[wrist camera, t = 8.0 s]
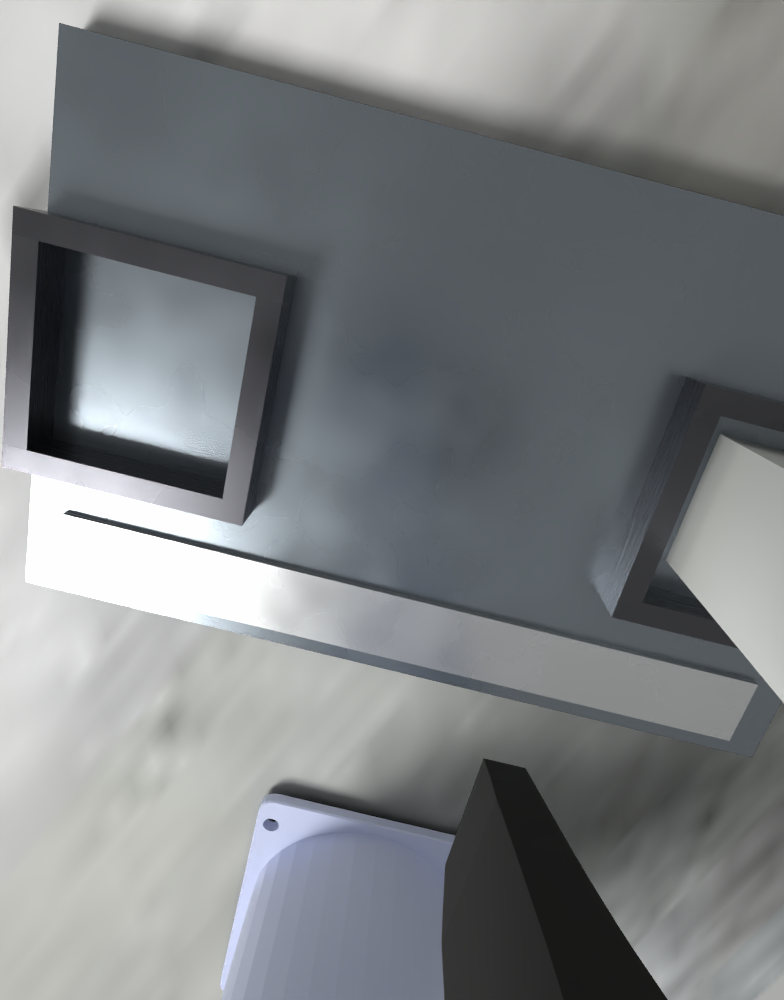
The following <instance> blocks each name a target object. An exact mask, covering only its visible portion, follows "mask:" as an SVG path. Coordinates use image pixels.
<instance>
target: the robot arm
mask: <svg viewBox="0 0 784 1000" xmlns="http://www.w3.org/2000/svg"><path fill="white" fill-rule="evenodd" d="M268 819H274V820H276V821H277V822H272V821H270V820H268ZM220 987H221V988H222V990H223V995H222V998H221V1000H667V998H666V997H665V995H664V994H663V992H662V991H661V989H660V988H659V986H658V985H657V983H656V982H655V981H654V979H653V978H652V976H651V975H650V973H649V972H648V970H647V969H646V967H645V966H644V964H643V963H642V961H641V960H640V958H639V957H638V956H637V954H636V953H635V951H634V950H633V948H632V947H631V945H630V944H629V942H628V940H627V939H626V937H625V936H624V934H623V933H622V931H621V930H620V928H619V927H618V925H617V923H616V922H615V920H614V919H613V917H612V915H611V914H610V912H609V910H608V909H607V907H606V906H605V904H604V902H603V901H602V899H601V897H600V896H599V894H598V893H597V891H596V889H595V888H594V886H593V884H592V883H591V881H590V880H589V878H588V876H587V875H586V873H585V871H584V870H583V868H582V866H581V864H580V863H579V861H578V859H577V858H576V856H575V854H574V853H573V851H572V849H571V847H570V846H569V844H568V842H567V840H566V839H565V837H564V835H563V833H562V832H561V830H560V828H559V826H558V825H557V823H556V821H555V819H554V818H553V816H552V814H551V812H550V811H549V809H548V807H547V805H546V804H545V802H544V800H543V798H542V796H541V795H540V793H539V791H538V789H537V788H536V786H535V784H534V783H533V781H532V779H531V777H530V776H529V774H528V772H527V770H526V769H525V768H522V767H517V766H513V765H509V764H505V763H501V762H496V761H492V760H488V759H483V761H482V764H481V767H480V770H479V773H478V775H477V778H476V781H475V784H474V786H473V789H472V792H471V795H470V797H469V800H468V803H467V806H466V808H465V811H464V814H463V817H462V820H461V822H460V825H459V828H458V831H457V833H456V836H455V835H451V834H447V833H442V832H438V831H434V830H430V829H425V828H421V827H417V826H413V825H408V824H404V823H400V822H396V821H391V820H387V819H383V818H379V817H374V816H370V815H366V814H362V813H357V812H353V811H349V810H345V809H340V808H336V807H332V806H328V805H323V804H319V803H315V802H311V801H306V800H302V799H298V798H294V797H289V796H285V795H281V794H269V795H267V796H265V797H264V798H263V800H262V802H261V804H260V808H259V811H258V816H257V820H256V825H255V829H254V834H253V838H252V843H251V847H250V852H249V856H248V860H247V865H246V869H245V874H244V878H243V883H242V887H241V892H240V896H239V900H238V905H237V909H236V914H235V918H234V923H233V927H232V932H231V936H230V940H229V945H228V949H227V954H226V958H225V963H224V967H223V972H222V976H221V981H220Z"/></svg>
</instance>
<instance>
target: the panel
mask: <svg viewBox="0 0 784 1000" xmlns="http://www.w3.org/2000/svg"><path fill="white" fill-rule="evenodd" d="M720 434H723V435H727V436H730V437H734V438H738V439H742V440H746V441H749V442H753V443H757V444H761V445H765V446H769V447H772V448H776V449H780V450H784V216H782V215H778V214H774V213H771V212H767V211H763V210H759V209H756V208H752V207H748V206H744V205H741V204H737V203H733V202H729V201H726V200H722V199H718V198H714V197H710V196H707V195H703V194H699V193H695V192H692V191H688V190H684V189H680V188H677V187H673V186H669V185H665V184H662V183H658V182H654V181H650V180H647V179H643V178H639V177H635V176H632V175H628V174H624V173H620V172H617V171H613V170H609V169H605V168H602V167H598V166H594V165H590V164H587V163H583V162H579V161H575V160H572V159H568V158H564V157H560V156H557V155H553V154H549V153H545V152H542V151H538V150H534V149H530V148H527V147H523V146H519V145H515V144H512V143H508V142H504V141H500V140H497V139H493V138H489V137H485V136H482V135H478V134H474V133H470V132H467V131H463V130H459V129H455V128H452V127H448V126H444V125H440V124H437V123H433V122H429V121H425V120H422V119H418V118H414V117H410V116H407V115H403V114H399V113H395V112H392V111H388V110H384V109H380V108H377V107H373V106H369V105H365V104H362V103H358V102H354V101H350V100H347V99H343V98H339V97H335V96H332V95H328V94H324V93H320V92H317V91H313V90H309V89H305V88H302V87H298V86H294V85H290V84H287V83H283V82H279V81H275V80H272V79H268V78H264V77H260V76H256V75H253V74H249V73H245V72H241V71H238V70H234V69H230V68H226V67H223V66H219V65H215V64H211V63H208V62H204V61H200V60H196V59H193V58H189V57H185V56H181V55H178V54H174V53H170V52H166V51H163V50H159V49H155V48H151V47H148V46H144V45H140V44H136V43H133V42H129V41H125V40H121V39H118V38H114V37H110V36H106V35H103V34H99V33H95V32H91V31H88V30H84V29H80V28H76V27H73V26H69V25H65V24H61V23H59V34H58V51H57V67H56V84H55V100H54V117H53V133H52V150H51V166H50V183H49V199H48V212H47V211H42V210H36V209H30V208H24V207H18V206H13V225H12V248H11V270H10V293H9V316H8V338H7V361H6V383H5V406H4V429H3V451H2V467H4V468H8V469H12V470H16V471H20V472H24V473H28V474H32V479H31V496H30V512H29V529H28V545H27V562H26V578H25V582H28V583H32V584H36V585H41V586H45V587H49V588H53V589H57V590H61V591H65V592H69V593H74V594H78V595H82V596H86V597H90V598H94V599H98V600H103V601H107V602H111V603H115V604H119V605H123V606H127V607H132V608H136V609H140V610H144V611H148V612H152V613H156V614H160V615H165V616H169V617H173V618H177V619H181V620H185V621H189V622H194V623H198V624H202V625H206V626H210V627H214V628H218V629H223V630H227V631H231V632H235V633H239V634H243V635H247V636H251V637H256V638H260V639H264V640H268V641H272V642H276V643H280V644H285V645H289V646H293V647H297V648H301V649H305V650H309V651H313V652H318V653H322V654H326V655H330V656H334V657H338V658H342V659H347V660H351V661H355V662H359V663H363V664H367V665H371V666H376V667H380V668H384V669H388V670H392V671H396V672H400V673H404V674H409V675H413V676H417V677H421V678H425V679H429V680H433V681H438V682H442V683H446V684H450V685H454V686H458V687H462V688H467V689H471V690H475V691H479V692H483V693H487V694H491V695H495V696H500V697H504V698H508V699H512V700H516V701H520V702H524V703H529V704H533V705H537V706H541V707H545V708H549V709H553V710H558V711H562V712H566V713H570V714H574V715H578V716H582V717H586V718H591V719H595V720H599V721H603V722H607V723H611V724H615V725H620V726H624V727H628V728H632V729H636V730H640V731H644V732H648V733H653V734H657V735H661V736H665V737H669V738H673V739H677V740H682V741H686V742H690V743H694V744H698V745H702V746H706V747H711V748H715V749H719V750H723V751H727V752H731V753H735V754H739V755H744V756H748V757H752V756H753V754H754V752H755V750H756V749H757V747H758V745H759V743H760V741H761V739H762V737H763V735H764V734H765V732H766V730H767V728H768V726H769V724H770V722H771V720H772V719H773V717H774V715H775V713H776V711H777V709H778V707H779V705H780V704H781V702H782V701H781V699H780V698H779V697H778V696H777V694H776V693H775V692H774V691H773V690H772V688H771V687H770V686H769V685H768V684H767V682H766V681H765V680H764V679H763V678H762V676H761V675H760V674H759V673H758V671H757V670H756V669H755V668H754V667H753V665H752V664H751V663H750V662H749V661H748V659H747V658H746V657H745V656H744V655H743V653H742V652H741V651H740V650H739V648H738V647H737V646H736V645H735V644H734V642H733V641H732V640H731V639H730V638H729V636H728V635H727V634H726V633H725V631H724V630H723V629H722V628H721V627H720V625H719V624H718V623H717V622H716V621H715V619H714V618H713V617H712V616H711V615H710V613H709V612H708V611H707V610H706V608H705V607H704V606H703V605H702V604H701V602H700V601H699V600H698V599H697V598H696V596H695V595H694V594H693V593H692V592H691V590H690V589H689V588H688V587H687V585H686V584H685V583H684V582H683V581H682V579H681V578H680V577H679V576H678V575H677V573H676V572H675V571H674V570H673V569H672V567H671V566H670V565H669V564H668V562H667V561H666V558H667V556H668V553H669V551H670V549H671V546H672V544H673V542H674V540H675V537H676V535H677V533H678V530H679V528H680V526H681V523H682V521H683V519H684V516H685V514H686V512H687V509H688V507H689V505H690V502H691V500H692V498H693V496H694V493H695V491H696V489H697V486H698V484H699V482H700V479H701V477H702V475H703V472H704V470H705V468H706V465H707V463H708V461H709V458H710V456H711V454H712V451H713V449H714V447H715V445H716V442H717V440H718V438H719V435H720Z"/></svg>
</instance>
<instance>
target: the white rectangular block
mask: <svg viewBox="0 0 784 1000" xmlns="http://www.w3.org/2000/svg"><path fill="white" fill-rule="evenodd" d="M666 561H667V562H668V564H669V565H670V566H671V567H672V569H673V570H674V571H675V572H676V573H677V575H678V576H679V577H680V578H681V579H682V581H683V582H684V583H685V584H686V585H687V587H688V588H689V589H690V590H691V592H692V593H693V594H694V595H695V596H696V598H697V599H698V600H699V601H700V602H701V604H702V605H703V606H704V607H705V608H706V610H707V611H708V612H709V613H710V615H711V616H712V617H713V618H714V619H715V621H716V622H717V623H718V624H719V625H720V627H721V628H722V629H723V630H724V631H725V633H726V634H727V635H728V636H729V638H730V639H731V640H732V641H733V642H734V644H735V645H736V646H737V647H738V648H739V650H740V651H741V652H742V653H743V655H744V656H745V657H746V658H747V659H748V661H749V662H750V663H751V664H752V665H753V667H754V668H755V669H756V670H757V671H758V673H759V674H760V675H761V676H762V678H763V679H764V680H765V681H766V682H767V684H768V685H769V686H770V687H771V688H772V690H773V691H774V692H775V693H776V694H777V696H778V697H779V698H780V699H781V701H782V702H783V703H784V450H780V449H776V448H772V447H769V446H765V445H761V444H757V443H753V442H749V441H746V440H742V439H738V438H734V437H730V436H727V435H723V434H720V435H719V438H718V440H717V442H716V445H715V447H714V449H713V451H712V454H711V456H710V458H709V461H708V463H707V465H706V468H705V470H704V472H703V475H702V477H701V479H700V482H699V484H698V486H697V489H696V491H695V493H694V496H693V498H692V500H691V502H690V505H689V507H688V509H687V512H686V514H685V516H684V519H683V521H682V523H681V526H680V528H679V530H678V533H677V535H676V537H675V540H674V542H673V544H672V546H671V549H670V551H669V553H668V556H667V558H666Z"/></svg>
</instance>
